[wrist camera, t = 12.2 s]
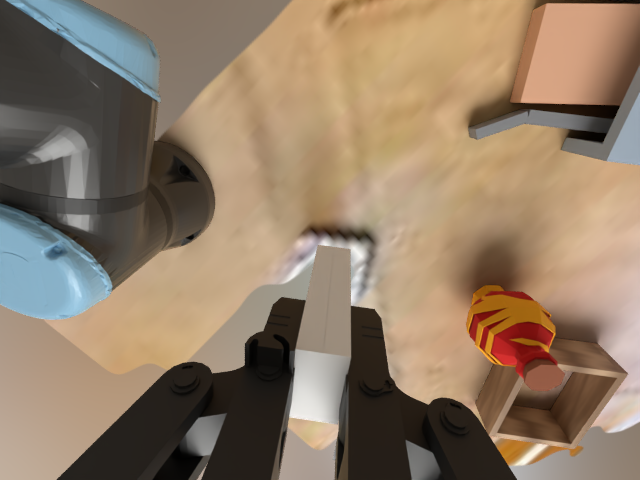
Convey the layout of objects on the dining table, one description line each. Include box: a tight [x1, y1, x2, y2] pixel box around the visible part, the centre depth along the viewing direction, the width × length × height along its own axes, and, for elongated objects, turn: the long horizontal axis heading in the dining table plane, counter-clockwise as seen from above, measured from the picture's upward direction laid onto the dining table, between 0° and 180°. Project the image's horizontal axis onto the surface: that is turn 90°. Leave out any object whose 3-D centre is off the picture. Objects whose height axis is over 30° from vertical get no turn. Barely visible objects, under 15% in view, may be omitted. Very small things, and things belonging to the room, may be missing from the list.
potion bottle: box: [466, 285, 565, 391], centre depth 41 cm, size 10×10×15 cm
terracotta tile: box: [510, 3, 640, 105], centre depth 34 cm, size 12×9×3 cm
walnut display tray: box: [476, 338, 628, 449], centre depth 51 cm, size 14×17×6 cm
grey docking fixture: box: [468, 0, 640, 165], centre depth 29 cm, size 18×19×12 cm
